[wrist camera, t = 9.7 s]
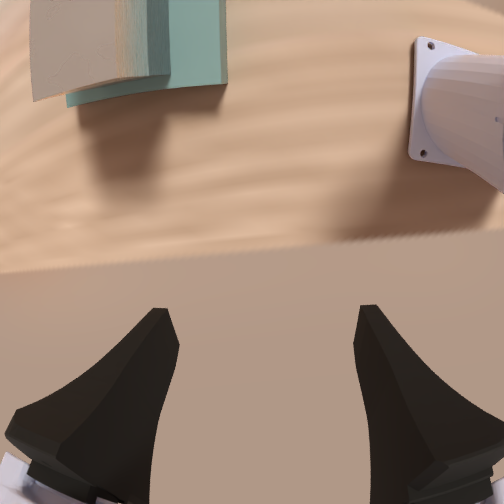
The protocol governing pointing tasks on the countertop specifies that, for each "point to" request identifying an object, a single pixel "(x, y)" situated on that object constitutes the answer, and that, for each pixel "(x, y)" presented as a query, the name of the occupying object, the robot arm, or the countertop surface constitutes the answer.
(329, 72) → the countertop surface
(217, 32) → the stand
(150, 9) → the block
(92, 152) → the countertop surface
